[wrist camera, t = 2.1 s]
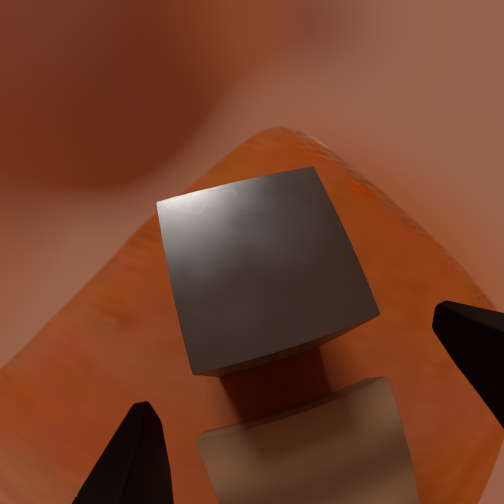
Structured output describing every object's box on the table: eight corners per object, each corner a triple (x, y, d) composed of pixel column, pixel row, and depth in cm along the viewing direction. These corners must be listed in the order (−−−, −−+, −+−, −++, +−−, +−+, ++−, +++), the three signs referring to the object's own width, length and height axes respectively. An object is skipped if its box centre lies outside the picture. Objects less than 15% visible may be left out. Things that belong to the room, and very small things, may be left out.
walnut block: (402, 503, 13) (422, 515, 10) (254, 558, 12) (256, 579, 9) (367, 378, 17) (387, 376, 15) (203, 431, 16) (195, 440, 13)
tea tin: (318, 346, 18) (380, 314, 10) (218, 376, 17) (192, 374, 9) (286, 255, 21) (313, 166, 12) (193, 280, 20) (156, 202, 11)
